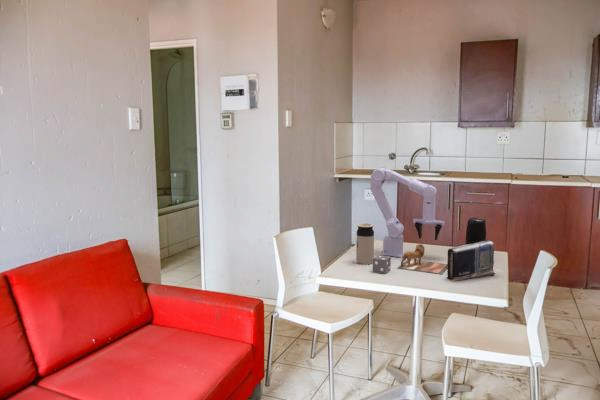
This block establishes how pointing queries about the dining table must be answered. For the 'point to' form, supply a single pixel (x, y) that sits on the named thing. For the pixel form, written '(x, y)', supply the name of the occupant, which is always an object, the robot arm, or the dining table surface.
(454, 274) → the radio
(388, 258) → the die
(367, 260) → the travel mug
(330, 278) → the dining table surface
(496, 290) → the dining table surface
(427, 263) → the board
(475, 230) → the portable speaker
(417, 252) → the lion figurine
